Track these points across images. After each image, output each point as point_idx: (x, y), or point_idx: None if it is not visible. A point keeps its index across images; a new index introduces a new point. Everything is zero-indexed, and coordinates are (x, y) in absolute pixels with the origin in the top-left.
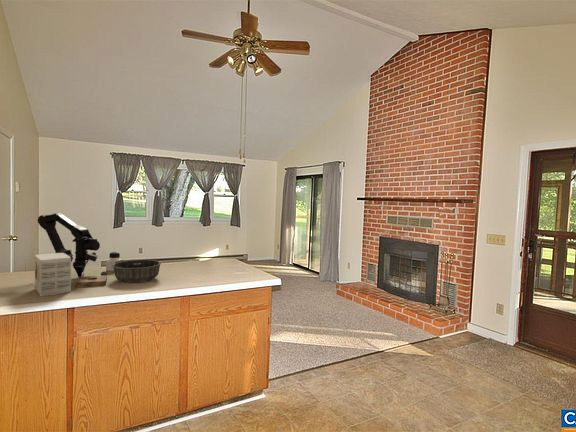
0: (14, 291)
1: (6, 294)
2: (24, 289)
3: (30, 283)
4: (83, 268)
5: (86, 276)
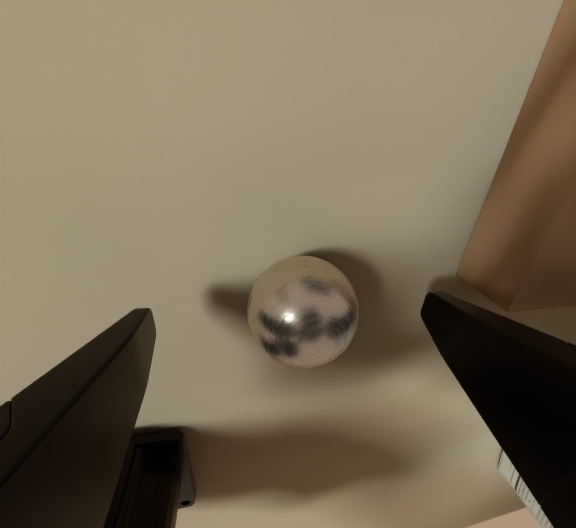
0: (488, 506)
1: (521, 506)
2: (477, 494)
3: (341, 524)
4: (90, 403)
5: (564, 213)
